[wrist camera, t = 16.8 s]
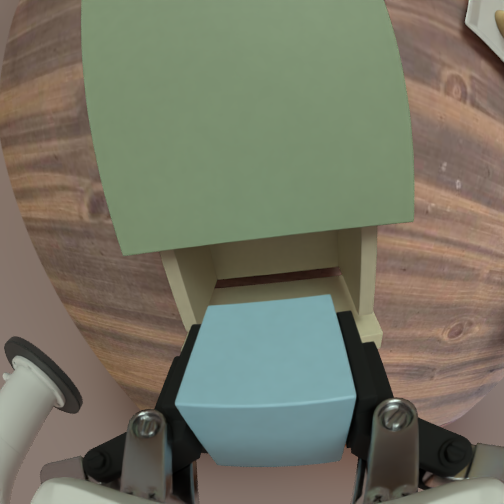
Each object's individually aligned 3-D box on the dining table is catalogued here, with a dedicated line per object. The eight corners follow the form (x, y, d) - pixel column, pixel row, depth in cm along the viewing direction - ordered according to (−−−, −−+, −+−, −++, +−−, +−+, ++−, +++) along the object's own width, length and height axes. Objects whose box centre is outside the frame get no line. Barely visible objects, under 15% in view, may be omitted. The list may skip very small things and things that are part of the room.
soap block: (231, 381, 12) (217, 465, 8) (207, 304, 10) (172, 403, 6) (329, 374, 11) (341, 461, 7) (330, 293, 9) (357, 396, 5)
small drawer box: (357, 181, 18) (414, 222, 10) (180, 204, 19) (122, 256, 12) (323, -9, 12) (349, -75, 4) (148, 22, 13) (82, -20, 6)
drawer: (351, 341, 22) (368, 402, 16) (224, 352, 24) (211, 414, 18) (343, 98, 15) (383, 82, 8) (167, 125, 16) (112, 126, 10)
